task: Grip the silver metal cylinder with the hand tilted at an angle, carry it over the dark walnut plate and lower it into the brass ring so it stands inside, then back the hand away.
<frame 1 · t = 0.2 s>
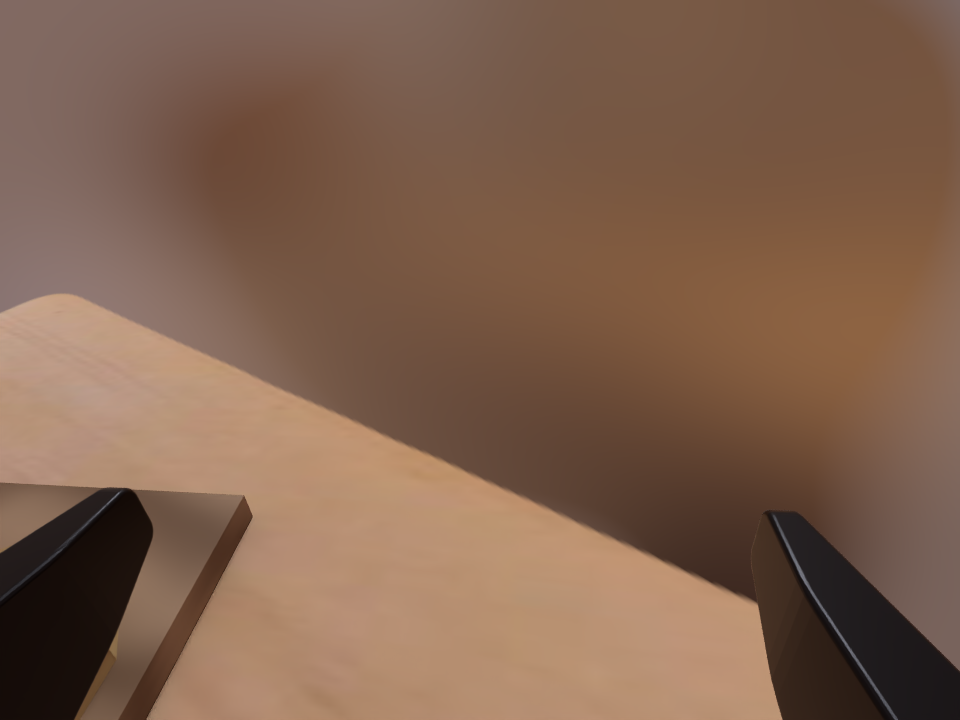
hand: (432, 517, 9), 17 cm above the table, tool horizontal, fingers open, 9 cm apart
ring seat: (5, 700, 24), on the table
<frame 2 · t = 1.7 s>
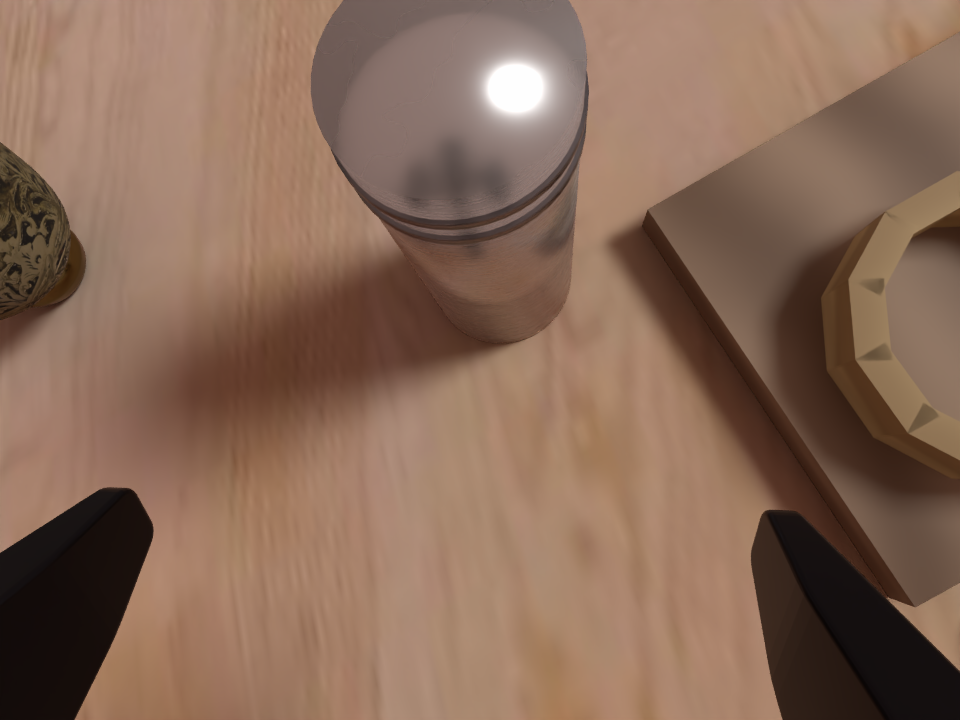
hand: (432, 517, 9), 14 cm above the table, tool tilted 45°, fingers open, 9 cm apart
cup: (58, 271, 26), on the table
ring seat: (947, 342, 21), on the table
silver metal cylinder: (502, 276, 24), on the table
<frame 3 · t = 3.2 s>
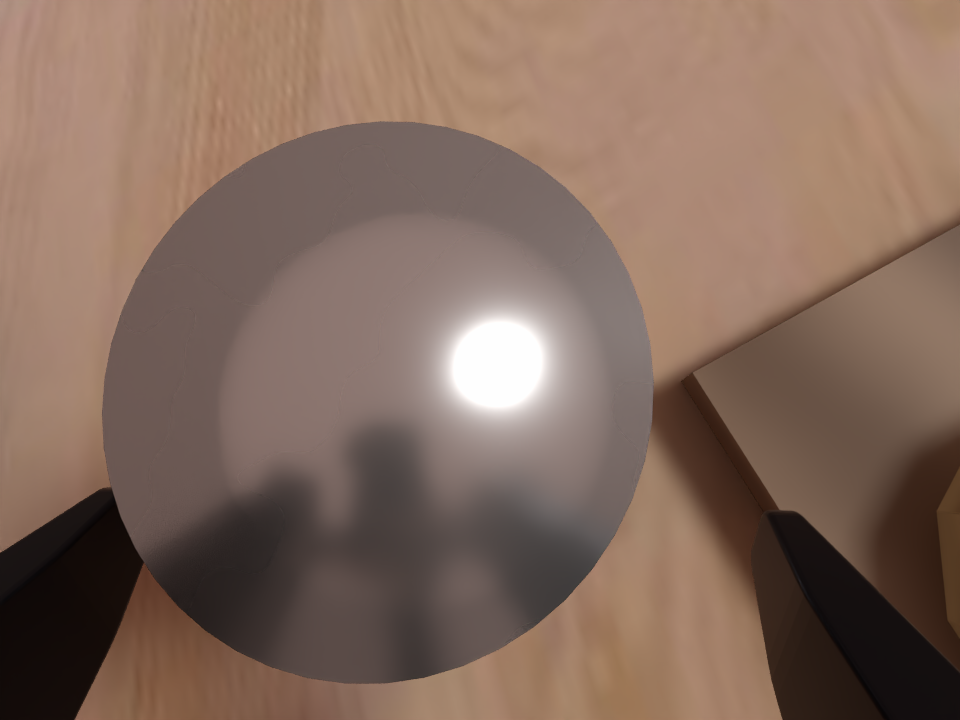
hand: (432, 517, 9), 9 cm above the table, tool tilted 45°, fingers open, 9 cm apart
silver metal cylinder: (494, 444, 18), on the table
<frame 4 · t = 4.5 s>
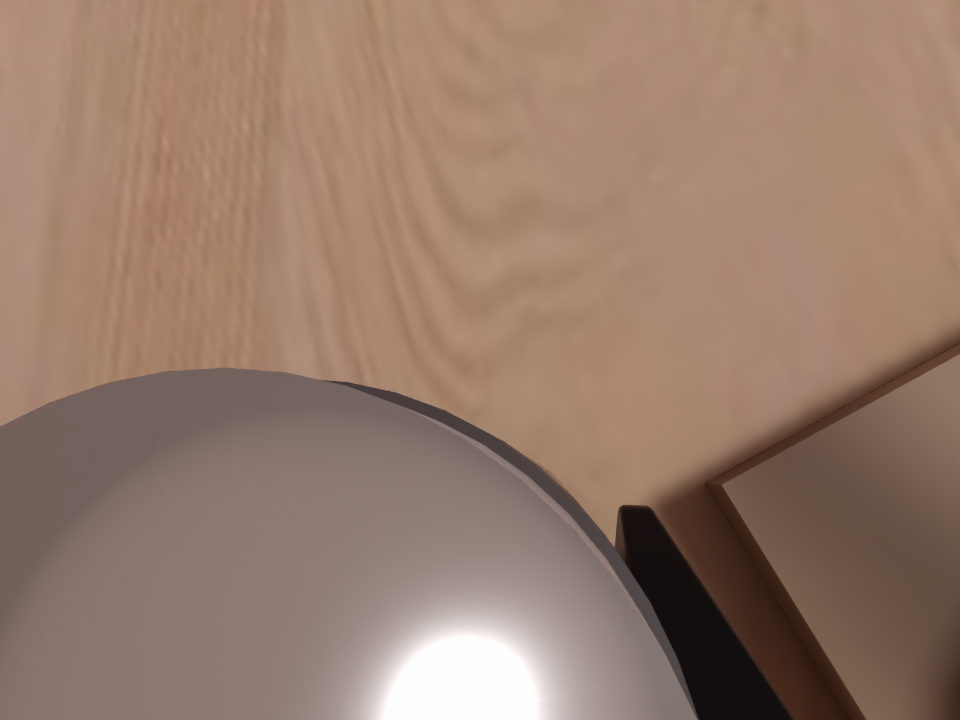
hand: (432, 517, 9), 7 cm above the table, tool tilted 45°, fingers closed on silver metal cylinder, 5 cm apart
silver metal cylinder: (482, 555, 15), on the table, touching gripper
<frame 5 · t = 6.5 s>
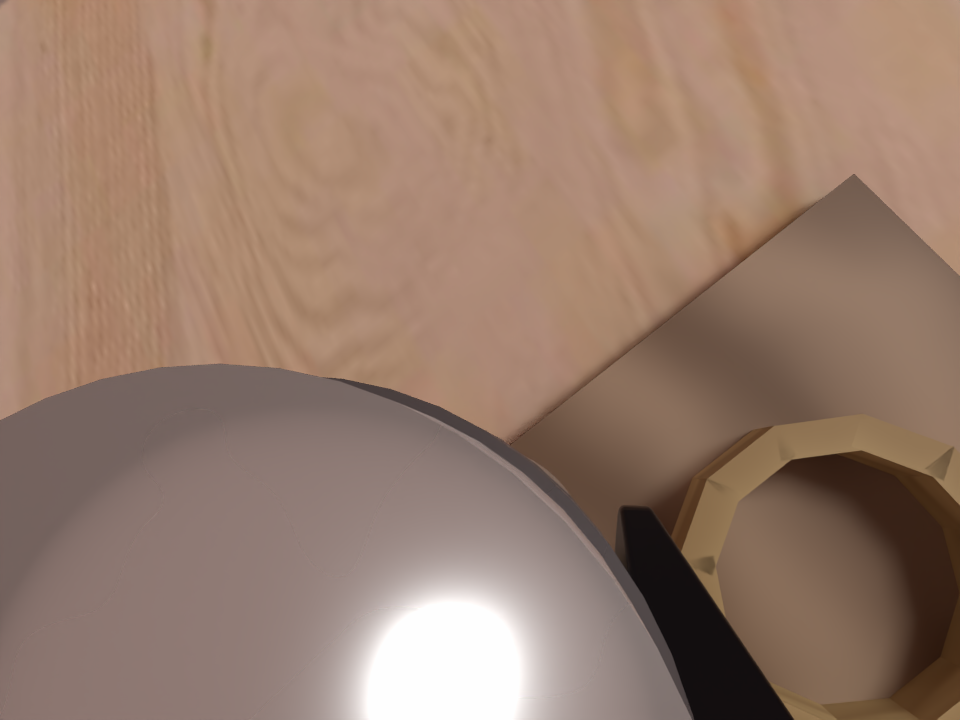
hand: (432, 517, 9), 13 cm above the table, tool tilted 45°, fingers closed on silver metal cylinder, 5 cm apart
ring seat: (806, 566, 20), on the table
silver metal cylinder: (481, 554, 15), point 7 cm above the table, touching gripper
when the fingers open (9 cm above the table, at t = 8.6 s): silver metal cylinder stays where it is, resting on ring seat.
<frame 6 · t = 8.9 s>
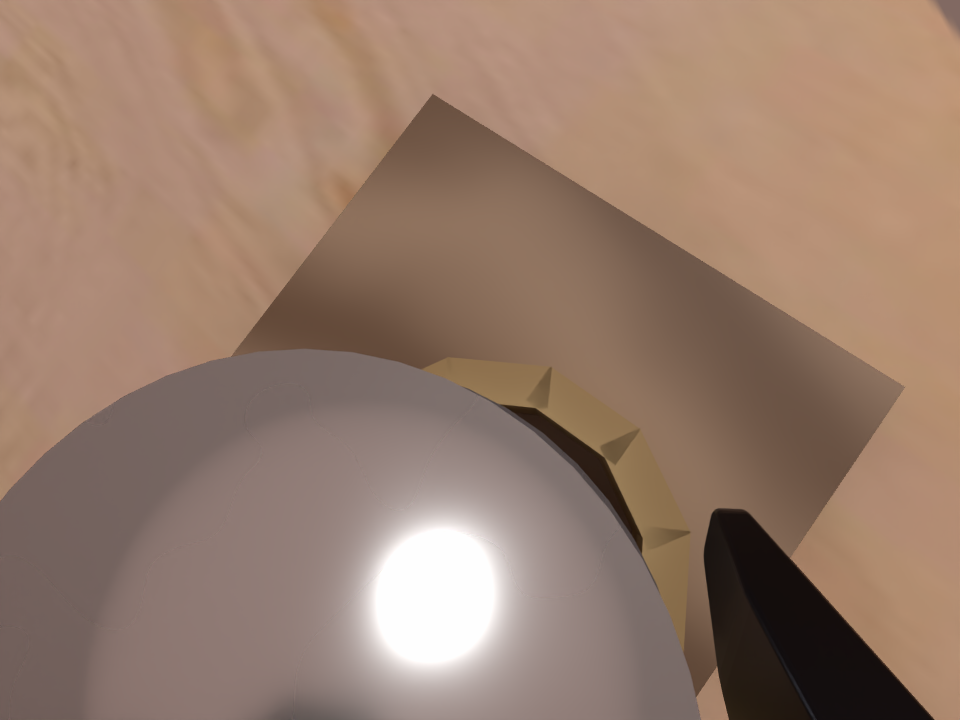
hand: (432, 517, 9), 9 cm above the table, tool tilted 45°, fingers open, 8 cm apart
ring seat: (492, 543, 18), on the table
silver metal cylinder: (486, 552, 16), point 2 cm above the table, touching ring seat
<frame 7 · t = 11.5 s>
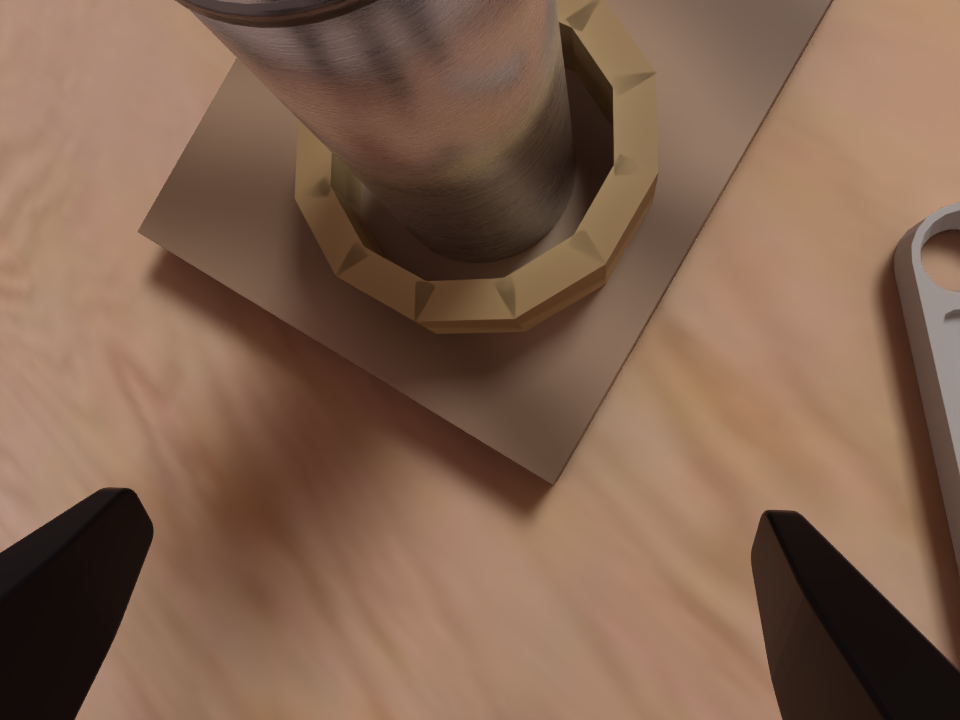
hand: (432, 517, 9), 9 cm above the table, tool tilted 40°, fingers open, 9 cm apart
ring seat: (491, 191, 19), on the table
silver metal cylinder: (482, 172, 18), point 2 cm above the table, touching ring seat
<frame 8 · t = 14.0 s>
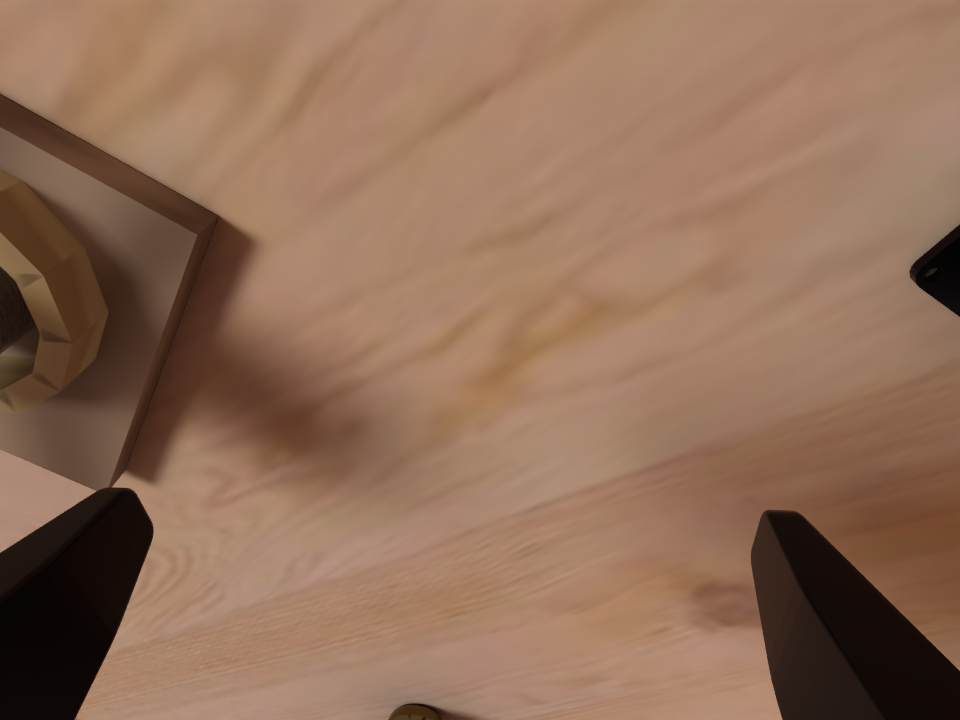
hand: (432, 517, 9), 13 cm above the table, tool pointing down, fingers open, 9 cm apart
cup: (418, 711, 40), on the table
ring seat: (1, 252, 23), on the table
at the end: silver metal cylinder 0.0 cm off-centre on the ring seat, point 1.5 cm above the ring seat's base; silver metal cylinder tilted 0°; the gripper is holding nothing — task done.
